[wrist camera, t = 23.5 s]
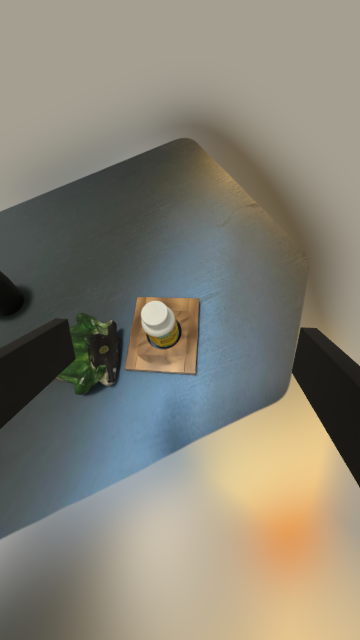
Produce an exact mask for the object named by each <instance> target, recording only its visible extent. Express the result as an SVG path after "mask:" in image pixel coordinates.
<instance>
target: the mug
mask: <svg viewBox="0 0 360 640" xmlns="http://www.w3.org/2000/svg"><path fill="white" fill-rule="evenodd" d="M23 302H24V298H23V295H22V294H21V293H20V292H19V290H18V289H17V288H16V286H15V285H14V284H13V283H12V282H11V280H10V279H9V278H8V277H7V276H5V275H4V274H3V273H2V272H1V271H0V314H3V315H11V314H13V313H15V312H17V311H18V310H19V309H20V308H21V306H22V305H23Z"/></svg>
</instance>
